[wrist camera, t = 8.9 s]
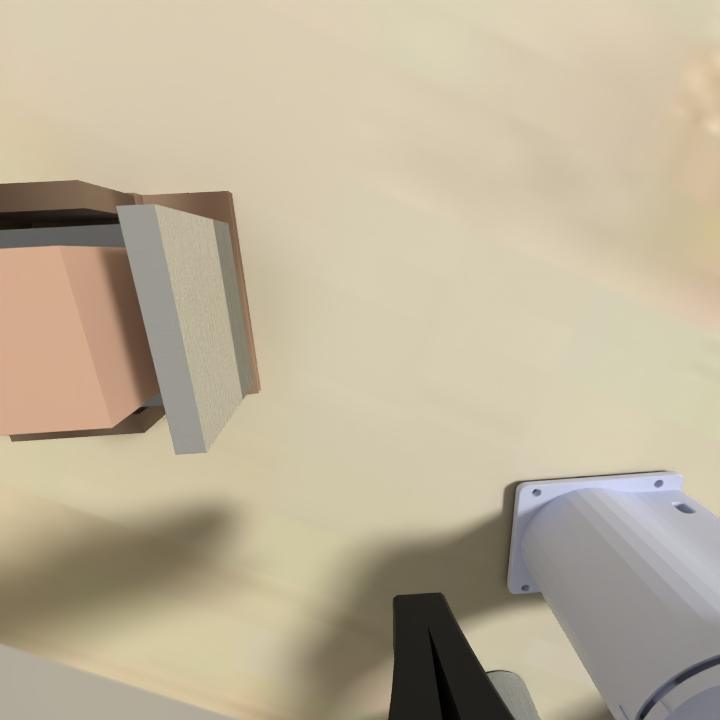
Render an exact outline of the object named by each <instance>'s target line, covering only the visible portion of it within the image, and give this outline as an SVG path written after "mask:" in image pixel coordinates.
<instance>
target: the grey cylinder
mask: <svg viewBox="0 0 720 720" xmlns="http://www.w3.org/2000/svg"><path fill="white" fill-rule="evenodd" d="M487 675H488V677H489V679H490V680H491V682H492V684H493V685H494V687H495V688H496V690H497V692H498V693H499V695H500V696H501V698H502V700H503V701H504V703H505V704H506V706H507V707H508V709H509V711H510V712H511V714H512V715H513V717H514V718H515V720H540V717H539V715H538V712H537V710H536V708H535V705H534V703H533V701H532V698H531V696H530V694H529V691H528V689H527V687H526V685H525V683H524V681H523V680H522V679H521V678H520V677H519V676H517V675H516V674H513V673H510V672H504V671H497V672H491V673H487Z"/></svg>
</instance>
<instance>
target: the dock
mask: <svg viewBox="0 0 720 720" xmlns="http://www.w3.org/2000/svg"><path fill="white" fill-rule="evenodd" d="M145 204H156V205H160V206H164V207H168V208H172V209H175V210H179V211H183V212H187V213H191V214H194V215H198V216H202V217H206V218H210V219H213V220H217V221H221V222H225V223H228V224H229V231H230V237H231V244H232V250H233V257H234V263H235V270H236V276H237V283H238V289H239V296H240V302H241V309H242V315H243V322H244V328H245V335H246V341H247V348H248V354H249V361H250V367H251V374H252V380H253V386H252V387H251V389H250V390H249V392H248V393H247V394H253V393H259V391H260V382H259V375H258V368H257V362H256V355H255V348H254V341H253V335H252V328H251V321H250V314H249V307H248V301H247V294H246V287H245V280H244V274H243V267H242V260H241V253H240V246H239V240H238V233H237V226H236V219H235V213H234V206H233V199H232V193H230V192H229V191H221V192H200V193H180V194H160V195H139V194H135V193H122V192H119V191H115V190H111V189H108V188H104V187H101V186H97V185H93V184H90V183H86V182H82V181H79V180H72V181H51V182H30V183H9V184H0V230H14V229H33V228H53V227H72V226H92V225H112V224H120V221H119V217H118V212H117V208H116V206H125V205H145ZM165 414H166V412H165V408H164V405H161V406H146V407H139V408H138V409H137V410H135V411H134V412H133V413H131V414H130V415H129V416H127V417H126V418H125V419H123V420H122V421H121V422H119V423H118V424H117V425H115V426H114V427H113V428H102V429H87V430H72V431H58V432H43V433H28V434H13V435H9V436H10V438H11V441H12V442H14V441H29V440H44V439H58V438H73V437H88V436H103V435H117V434H132V433H145V432H146V431H147V430H148V429H149V428H150V427H152V426H153V425H154V424H155V423H156V422H157V421H158V420H159V419H160V418H162V417H163V416H164V415H165Z"/></svg>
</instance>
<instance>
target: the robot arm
mask: <svg viewBox="0 0 720 720" xmlns="http://www.w3.org/2000/svg"><path fill="white" fill-rule="evenodd" d="M683 483H684V478H683V476H682V475H680V474H679V473H677V472H675V471H668V472H654V473H641V474H627V475H614V476H600V477H586V478H573V479H559V480H546V481H532V482H523V483H521V484H519V485H518V487H517V488H516V495H515V505H514V516H513V526H512V536H511V547H510V557H509V567H508V578H507V587H508V589H509V591H510V592H511V593H512V594H526V593H538V592H541V593H542V595H543V596H544V598H545V600H546V602H547V603H548V605H549V607H550V608H551V610H552V612H553V614H554V615H555V617H556V619H557V620H558V622H559V624H560V626H561V627H562V629H563V631H564V633H565V634H566V636H567V638H568V639H569V641H570V643H571V645H572V646H573V648H574V650H575V651H576V653H577V655H578V657H579V658H580V660H581V662H582V663H583V665H584V667H585V669H586V670H587V672H588V674H589V675H590V677H591V679H592V681H593V682H594V684H595V686H596V687H597V689H598V691H599V693H600V694H601V696H602V698H603V699H604V701H605V703H606V705H607V706H608V708H609V710H610V711H611V713H612V715H613V717H614V718H615V720H720V517H718V516H717V515H716V514H714V513H713V512H711V511H710V510H709V509H707V508H706V507H704V506H703V505H701V504H700V503H699V502H697V501H696V500H694V499H693V498H691V497H690V496H689V495H687V494H686V493H684V492H683V491H681V490H682V487H683ZM535 489H537V490H536V491H535V492H533V491H534V490H535ZM393 647H394V671H393V683H392V694H391V702H390V710H389V717H388V720H515V718H514V717H513V715H512V714H511V712H510V711H509V709H508V707H507V706H506V704H505V703H504V701H503V700H502V698H501V696H500V695H499V693H498V692H497V690H496V688H495V687H494V685H493V684H492V682H491V680H490V679H489V677H488V675H487V674H486V672H485V670H484V669H483V667H482V666H481V664H480V662H479V661H478V659H477V657H476V655H475V654H474V652H473V650H472V648H471V647H470V645H469V643H468V641H467V639H466V638H465V636H464V634H463V632H462V630H461V629H460V627H459V625H458V623H457V621H456V619H455V617H454V615H453V613H452V611H451V609H450V607H449V605H448V603H447V601H446V599H445V596H444V595H443V594H442V593H425V594H409V595H397V596H396V597H394V598H393Z"/></svg>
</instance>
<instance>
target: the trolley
mask: <svg viewBox="0 0 720 720" xmlns="http://www.w3.org/2000/svg"><path fill="white" fill-rule="evenodd" d="M116 208H117V212H118V217H119V221H120V224H112V225H92V226H72V227H53V228H33V229H14V230H0V435H13V434H28V433H43V432H58V431H72V430H87V429H102V428H113V427H114V426H115V425H117V424H118V423H119V422H121V421H122V420H123V419H125V418H126V417H127V416H129V415H130V414H131V413H133V412H134V411H135V410H137V409H138V408H139V407H146V406H161V405H164V408H165V412H166V416H167V421H168V425H169V429H170V433H171V437H172V441H173V446H174V450H175V454H176V455H178V454H192V453H207V451H208V450H209V448H210V447H211V445H212V444H213V442H214V441H215V440H216V438H217V437H218V435H219V434H220V432H221V431H222V429H223V428H224V426H225V425H226V424H227V422H228V421H229V419H230V418H231V416H232V415H233V413H234V412H235V411H236V409H237V408H238V406H239V405H240V403H241V402H242V400H243V399H244V397H245V396H246V395H247V393H248V392H249V390H250V389H251V387H252V386H253V380H252V374H251V367H250V361H249V354H248V348H247V341H246V335H245V328H244V322H243V315H242V309H241V302H240V296H239V289H238V283H237V276H236V270H235V263H234V257H233V250H232V244H231V237H230V231H229V224H228V223H225V222H221V221H217V220H213V219H210V218H206V217H202V216H198V215H194V214H191V213H187V212H183V211H179V210H175V209H172V208H168V207H164V206H160V205H156V204H145V205H125V206H116Z"/></svg>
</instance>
